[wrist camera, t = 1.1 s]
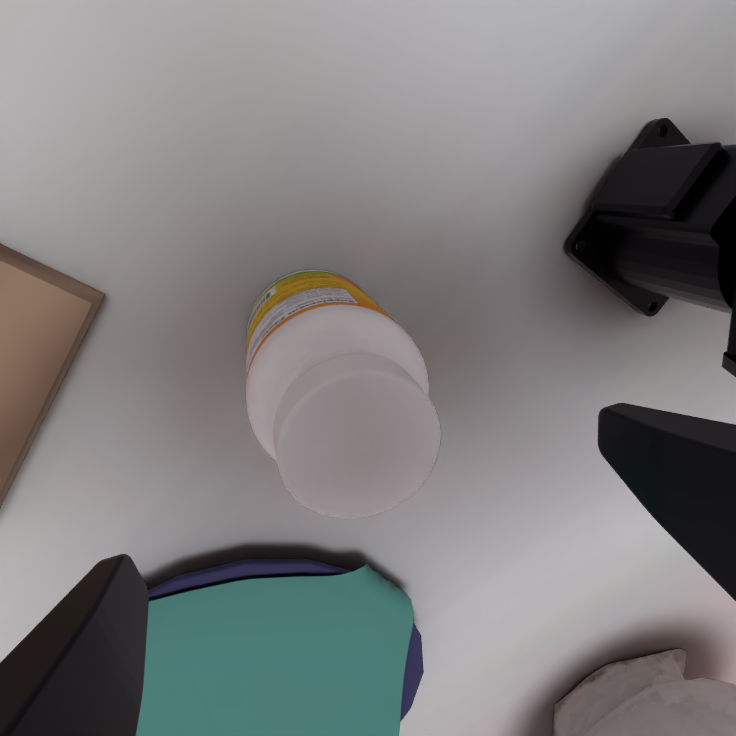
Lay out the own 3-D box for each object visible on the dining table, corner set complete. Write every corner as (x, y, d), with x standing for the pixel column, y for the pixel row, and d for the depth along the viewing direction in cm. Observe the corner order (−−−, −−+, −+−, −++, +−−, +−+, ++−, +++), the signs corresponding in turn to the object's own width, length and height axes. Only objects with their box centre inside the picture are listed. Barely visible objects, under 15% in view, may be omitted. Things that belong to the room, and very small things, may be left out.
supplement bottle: (383, 371, 21) (479, 506, 12) (266, 403, 20) (279, 571, 11) (361, 253, 19) (459, 314, 10) (229, 283, 18) (211, 378, 9)
